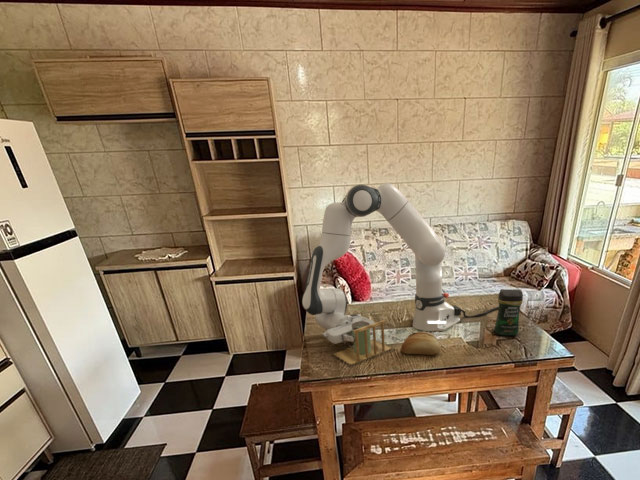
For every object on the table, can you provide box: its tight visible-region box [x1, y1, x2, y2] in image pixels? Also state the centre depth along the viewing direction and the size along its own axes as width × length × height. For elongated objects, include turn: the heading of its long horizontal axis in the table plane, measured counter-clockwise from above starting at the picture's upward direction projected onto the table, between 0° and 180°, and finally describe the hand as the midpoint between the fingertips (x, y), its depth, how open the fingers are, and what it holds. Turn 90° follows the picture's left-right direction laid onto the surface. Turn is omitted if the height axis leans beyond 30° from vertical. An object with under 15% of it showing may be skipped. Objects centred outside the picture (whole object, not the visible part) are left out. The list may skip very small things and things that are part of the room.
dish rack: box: [333, 319, 392, 365], centre depth 156 cm, size 20×12×13 cm, turn 130°
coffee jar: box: [494, 288, 524, 337], centre depth 166 cm, size 10×8×19 cm
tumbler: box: [352, 321, 372, 355], centre depth 156 cm, size 7×7×11 cm
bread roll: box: [400, 331, 442, 356], centre depth 155 cm, size 10×15×8 cm, turn 87°
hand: (362, 336), depth 155 cm, fingers closed on tumbler, 7 cm apart
